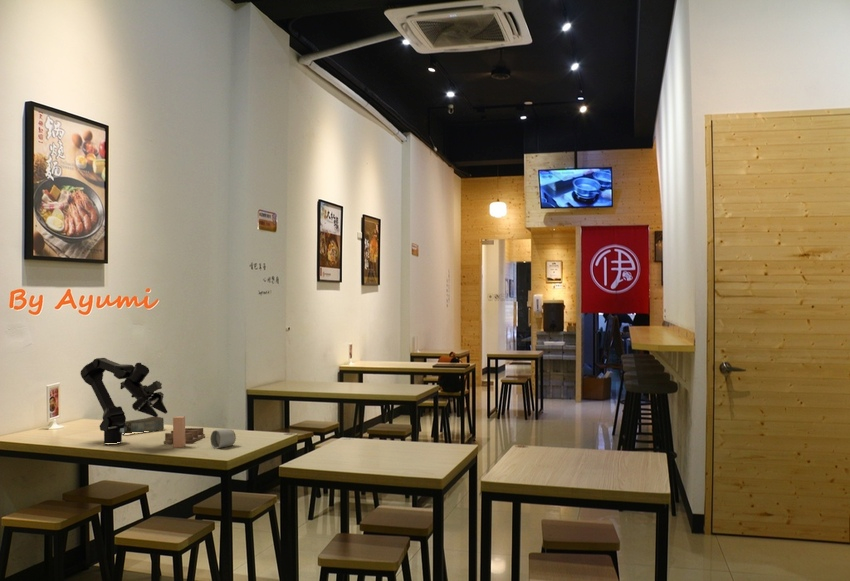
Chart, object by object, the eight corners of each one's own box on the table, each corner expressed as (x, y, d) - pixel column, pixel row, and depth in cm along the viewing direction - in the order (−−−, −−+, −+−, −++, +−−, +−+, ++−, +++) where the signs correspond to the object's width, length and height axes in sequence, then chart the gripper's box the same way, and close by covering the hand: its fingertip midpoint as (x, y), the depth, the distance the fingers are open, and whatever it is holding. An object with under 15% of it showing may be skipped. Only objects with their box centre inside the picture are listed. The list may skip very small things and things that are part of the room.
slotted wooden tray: (163, 443, 301) (163, 434, 301) (179, 436, 317) (178, 427, 317) (190, 443, 300) (190, 434, 300) (204, 436, 316) (204, 427, 316)
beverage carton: (117, 434, 327) (117, 420, 328) (158, 428, 340) (158, 415, 341) (124, 436, 322) (123, 422, 322) (164, 430, 335) (164, 417, 335)
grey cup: (237, 446, 293) (236, 428, 293) (220, 449, 286) (220, 430, 287) (222, 443, 299) (221, 426, 300) (205, 447, 293) (205, 428, 293)
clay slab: (173, 447, 293) (173, 417, 293) (176, 445, 296) (175, 416, 296) (182, 447, 293) (182, 417, 293) (185, 445, 296) (185, 416, 296)
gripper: (139, 377, 287) (165, 404, 286) (159, 373, 305) (183, 398, 304) (120, 397, 287) (147, 423, 286) (141, 391, 305) (166, 416, 305)
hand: (162, 414), depth 295 cm, fingers open, 9 cm apart
